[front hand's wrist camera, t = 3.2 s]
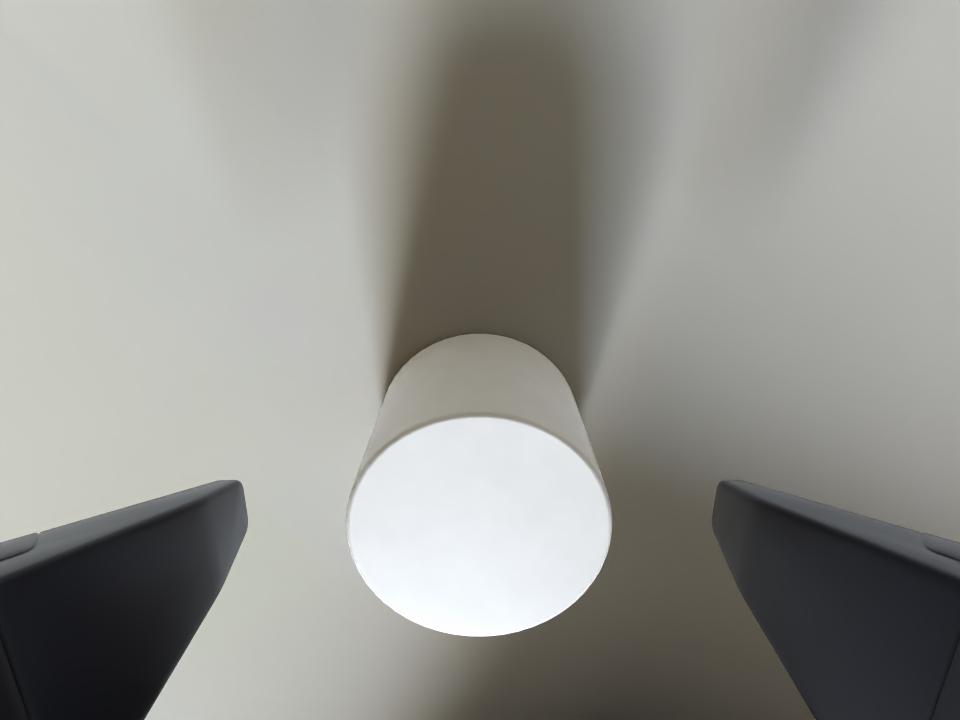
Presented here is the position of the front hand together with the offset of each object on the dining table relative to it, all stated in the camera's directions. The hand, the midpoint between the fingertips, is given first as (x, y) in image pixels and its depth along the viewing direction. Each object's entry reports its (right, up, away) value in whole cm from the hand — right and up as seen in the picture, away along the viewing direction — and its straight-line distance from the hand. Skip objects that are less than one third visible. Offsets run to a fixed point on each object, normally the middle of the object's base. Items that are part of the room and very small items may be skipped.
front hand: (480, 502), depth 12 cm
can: (0, +1, +3) cm, 3 cm away
